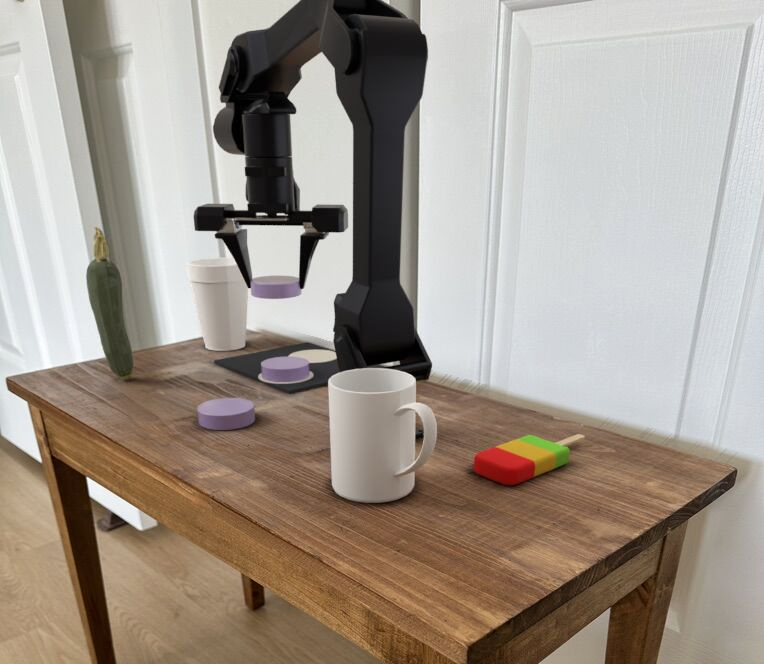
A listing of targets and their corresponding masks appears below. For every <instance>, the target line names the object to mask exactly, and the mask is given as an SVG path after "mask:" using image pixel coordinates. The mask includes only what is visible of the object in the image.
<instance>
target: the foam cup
mask: <svg viewBox="0 0 764 664" xmlns="http://www.w3.org/2000/svg"><path fill="white" fill-rule="evenodd" d="M185 268H186V277H187V280H188V281H189V286H190V289H191V293H192V298H193V302H194V306H195V311H196V314H197V318H198V322H199V327H200V330H201V335H202V339H203V343H204V344H205V346H204V347H205V348H206V350H210V351H218V352H226V351H228V352H229V351H235V350H240V349H242V348H245V346H246V340H247V323H248V322H247V320H248V301H249V300H248V298H249V288H248V287H247V285H246V283H245V281H244V278H243V276H242V274H241V272H240V270H239V268H238V266H237V264H236V262H235V260H234V258H233V257H207V258H196V259H192V260H188V261H187V262H186V263H185Z"/></svg>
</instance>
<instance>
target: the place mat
mask: <svg viewBox="0 0 764 664" xmlns="http://www.w3.org/2000/svg"><path fill="white" fill-rule="evenodd" d="M275 357H300V358H304V359H307V360H308V361H309V371H310V375H309V377H307V378H305V379H303V380H299V381H293V382H273V381H268V380H265V379H263V378H262V373H261V362H263V361H264V360H267V359H270V358H275ZM213 363H214V364H216V365H218V366H221V367H223V368H226V369H227V370H230V371H233V372H235V373H238V374H240V375H242V376H245V377H247V378H250V379H252V380H255V381H257V382H259V383H261V384H265V385H267V386H270V387H272V388H275V389H277V390H280V391H281V392H285V393H287V394H294V393H298V392H301V391H306V390H310V389H315V388H319V387H323V386H328V381H329V379H330V378H331V377H332V376H333V375H335V374H337V373H340V372H339V367H338V362H337V357H336V352H335V349H334V350H333V349H331V348H328V347H325V346H321V345H318V344H315V343H313V342H312V343H311V342H308V341H307V342H303V343H297V344H291V345H287V346H280V347H275V348H271V349H265V350H261V351H255V352H251V353H250V352H249V353H245V354H240V355H235V356H230V357H224V358H220V359H215V360H213ZM383 367H386V366H385V365H382V364H380V365H374V366H368V367H367V368H383Z"/></svg>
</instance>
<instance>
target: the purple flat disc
mask: <svg viewBox="0 0 764 664" xmlns="http://www.w3.org/2000/svg"><path fill="white" fill-rule="evenodd" d="M196 412H197V421H198V424H199V426H200V427H201V428H204V429H207V430H211V431H233V430H238V429H242V428H245V427H249V426H250V425H252V424H253V423H255V421H256V409H255V404H254V402H253V401H251V400H249V399H245V398H242V397H241V398H240V397H221V398H215V399H210V400H207V401H204V402H202V403H200V404H199V405H198V406H197V408H196Z"/></svg>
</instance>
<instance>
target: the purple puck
mask: <svg viewBox="0 0 764 664" xmlns="http://www.w3.org/2000/svg"><path fill="white" fill-rule="evenodd" d="M250 286H251V288H250V295H251V296H252V297H253V298H258V299H268V300H283V299H291V298H296V297H299V296H301V295H302V294H303V293H302V290H303V289H300V282H299V276H298V277H297V276H293V275H263V276H257V277H252V279H251V280H250Z"/></svg>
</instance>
